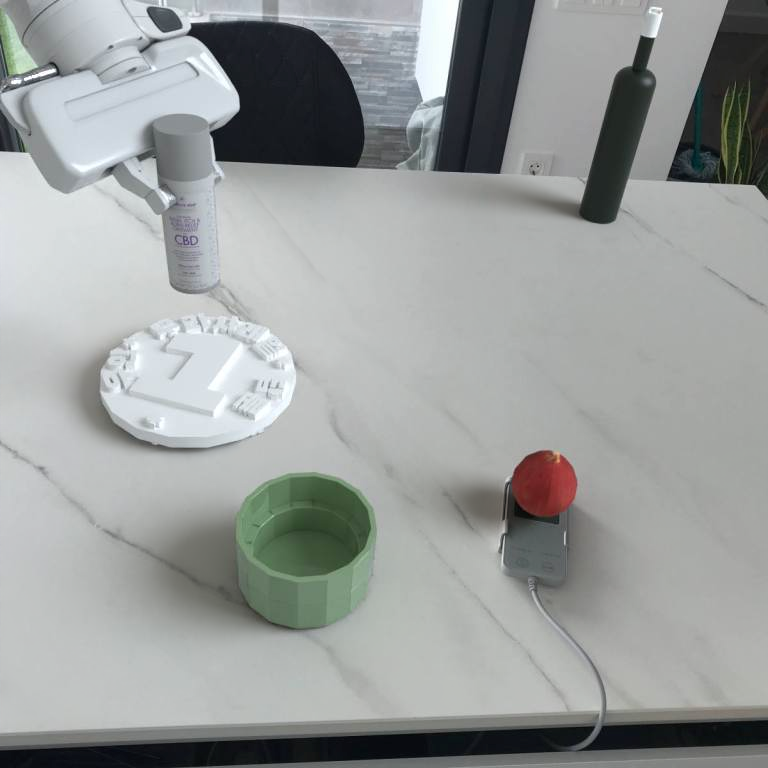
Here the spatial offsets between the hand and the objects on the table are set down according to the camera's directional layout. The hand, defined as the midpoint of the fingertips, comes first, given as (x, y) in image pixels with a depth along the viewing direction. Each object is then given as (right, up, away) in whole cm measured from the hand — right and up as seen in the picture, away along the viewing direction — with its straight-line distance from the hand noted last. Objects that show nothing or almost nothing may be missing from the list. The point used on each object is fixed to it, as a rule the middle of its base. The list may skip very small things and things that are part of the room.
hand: (193, 196), depth 67 cm
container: (-1, -7, +6) cm, 9 cm away
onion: (+31, -28, +6) cm, 42 cm away
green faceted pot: (+10, -32, -1) cm, 34 cm away
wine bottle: (+50, +10, +54) cm, 74 cm away
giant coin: (-3, -17, +16) cm, 23 cm away
